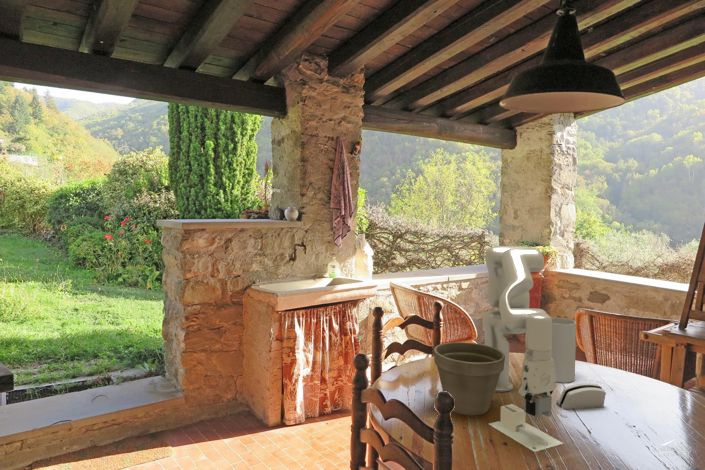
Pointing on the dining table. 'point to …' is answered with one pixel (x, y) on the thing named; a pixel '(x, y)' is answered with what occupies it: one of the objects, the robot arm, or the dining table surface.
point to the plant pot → (469, 374)
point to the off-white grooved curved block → (582, 396)
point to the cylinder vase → (563, 349)
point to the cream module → (512, 417)
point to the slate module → (541, 405)
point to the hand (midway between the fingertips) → (537, 411)
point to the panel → (528, 436)
